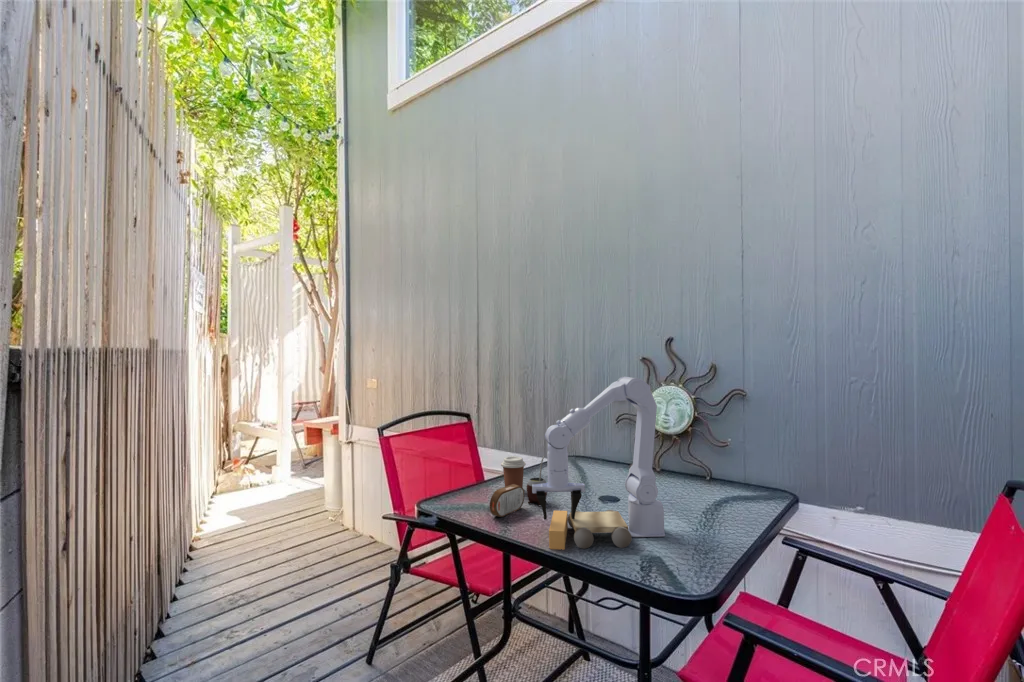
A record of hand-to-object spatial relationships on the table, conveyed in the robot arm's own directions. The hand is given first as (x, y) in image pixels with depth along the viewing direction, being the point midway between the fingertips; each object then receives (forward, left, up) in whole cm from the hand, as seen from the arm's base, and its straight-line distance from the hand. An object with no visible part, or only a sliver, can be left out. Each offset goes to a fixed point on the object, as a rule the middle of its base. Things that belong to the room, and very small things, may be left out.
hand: (559, 518), depth 135 cm
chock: (0, 0, -6) cm, 6 cm away
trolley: (-11, 0, -6) cm, 12 cm away
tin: (+14, -21, -6) cm, 26 cm away
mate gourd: (+4, -31, -6) cm, 32 cm away
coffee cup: (+12, -45, -6) cm, 47 cm away
